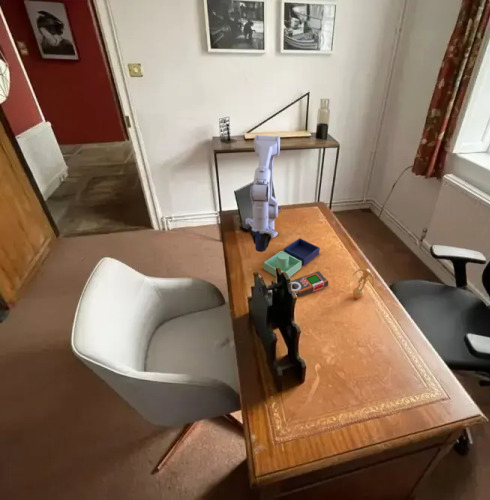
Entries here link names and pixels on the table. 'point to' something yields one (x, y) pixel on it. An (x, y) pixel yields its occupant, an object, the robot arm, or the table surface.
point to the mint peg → (283, 261)
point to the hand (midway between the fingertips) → (260, 245)
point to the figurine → (358, 291)
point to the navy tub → (302, 251)
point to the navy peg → (259, 243)
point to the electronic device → (309, 283)
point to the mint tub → (292, 265)
